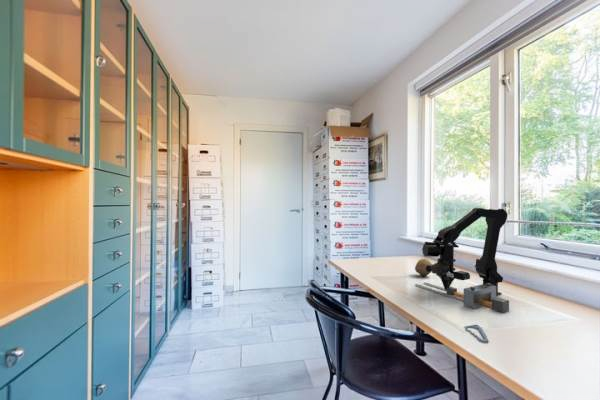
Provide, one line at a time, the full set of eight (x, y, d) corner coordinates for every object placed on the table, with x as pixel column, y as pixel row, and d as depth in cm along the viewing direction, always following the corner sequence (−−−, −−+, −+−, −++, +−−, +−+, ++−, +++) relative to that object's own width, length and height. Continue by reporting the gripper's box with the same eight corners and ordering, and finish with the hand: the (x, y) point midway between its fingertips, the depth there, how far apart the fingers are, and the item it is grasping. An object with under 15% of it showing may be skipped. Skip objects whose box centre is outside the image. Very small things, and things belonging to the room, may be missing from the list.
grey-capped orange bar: (445, 294, 126) (445, 285, 126) (451, 293, 128) (451, 284, 128) (502, 312, 105) (502, 302, 105) (509, 310, 107) (509, 300, 107)
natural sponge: (436, 278, 153) (436, 260, 153) (419, 278, 153) (419, 260, 153) (428, 274, 162) (428, 257, 162) (413, 274, 162) (413, 257, 162)
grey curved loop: (471, 343, 83) (490, 344, 82) (471, 340, 83) (490, 341, 82) (463, 326, 95) (480, 327, 93) (463, 324, 95) (479, 324, 93)
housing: (429, 282, 144) (429, 268, 144) (496, 302, 116) (496, 284, 116) (407, 287, 137) (407, 271, 137) (473, 309, 108) (473, 289, 108)
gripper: (417, 254, 133) (417, 286, 133) (454, 262, 116) (454, 299, 116) (433, 252, 138) (433, 284, 138) (470, 260, 121) (470, 295, 121)
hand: (446, 290), depth 128 cm, fingers closed
